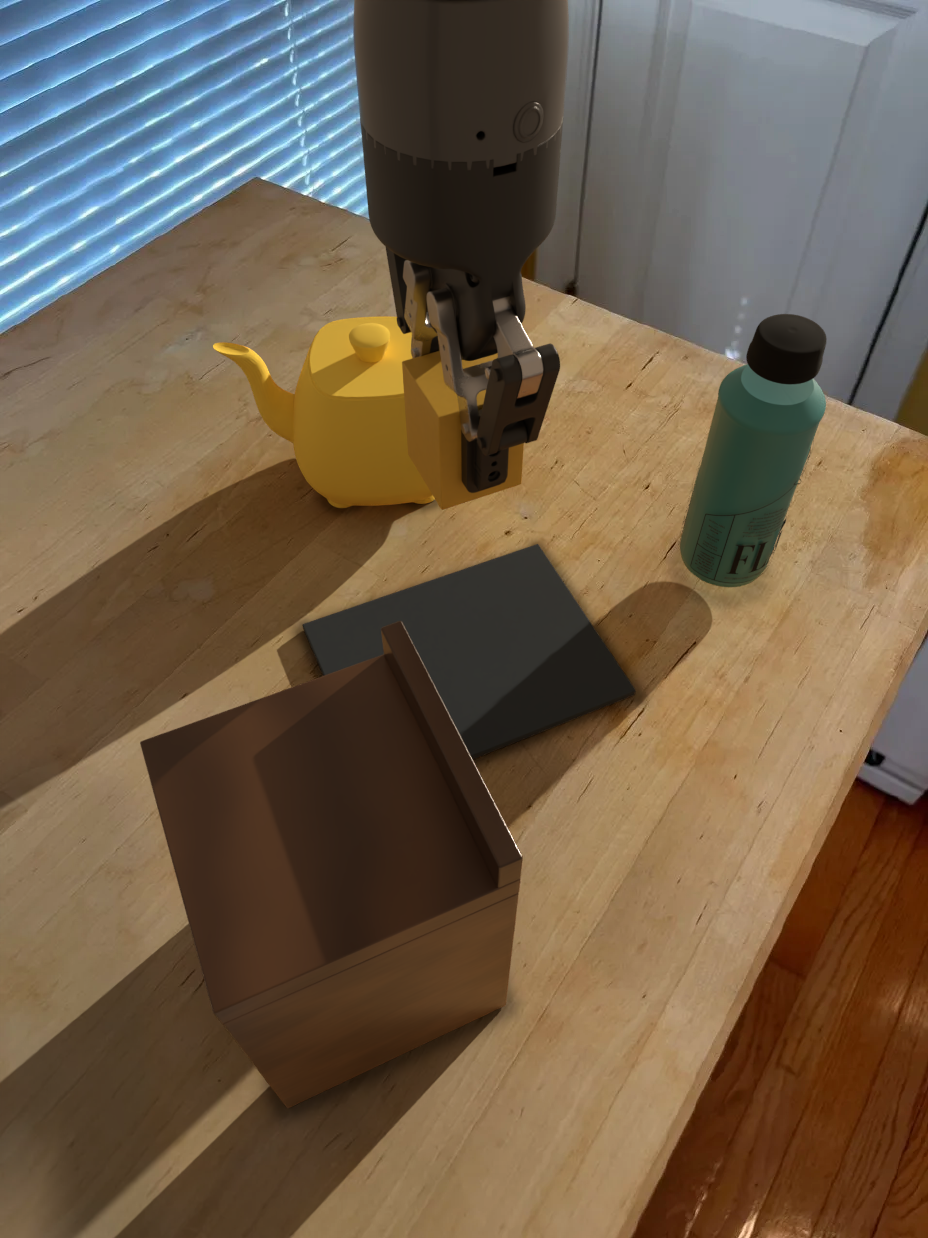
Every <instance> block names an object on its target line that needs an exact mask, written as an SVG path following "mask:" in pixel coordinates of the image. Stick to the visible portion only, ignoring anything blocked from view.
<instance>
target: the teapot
mask: <svg viewBox="0 0 928 1238" xmlns="http://www.w3.org/2000/svg"><path fill="white" fill-rule="evenodd" d="M411 339H412V333H411V332H410V333H407V334H403V333H402V331H401V330H400V328H399V327H398V324H397V316H391V315H390V316H388V315H387V316H362V317H361V316H359V317H350V318H349V317H348V318H342V319H337V320H333V321H330V322H328V323H326V324H324V326H322V327H321V328H320V329H319V330H318V331H317V332H316V334H315V335H314V337H313V339H312V341H311V344H310V346H309V348H308V350H307V353H306V356H305V359H304V362H303V364H302V368H301V370H300V373H299V377H298V379H297V383H296V386H295V389H294V390H295V391H294V393H293V392H290V391H287V390H285V389H283V388H282V387H280V386H279V385H278V384H277V383H276V382H275V381H274V379H273V377H272V375H271V373H270V371H269V369H268V366H267V365H266V363H265V361H264V359H262V357H261V356H260V355H259V354H258V353H256V351H254V350H253V349H251V348H249V347H247V346H244V345H243V344H242V345H241V344H238V343H234V342H226V341H224V342H222V341H221V342H215V343H214V344H213V345H212V347H213V349H214V351H216V353H219V354H221V355H222V356H223V357H226V358H227V359H229V360H231V361H232V362H234V363H235V364H236V365H237V366H238V367H239V368H240V369H241V371H242V373H243V374H244V375H245V376H246V379H247V382H248V383H249V386H250V389H251V392H252V395H253V398H254V402H255V405H256V407H257V410H258V413H259V414H260V417H261V419H262V421H263V422H264V423H265V424H266V426H267V427H268V428H269V429H270V430H271V431H272V432H273V433H274V434H276V435H277V436H278V437H281V438H282V439H284V440H285V441H288V442H289V443H292V444H293V445H292V447H293V451H294V457H295V459H296V464H297V465H298V467H299V470H300V472H301V474H302V476H303V477H304V479H305V481H306V483H307V484H308V485H309V486H310V487H311V488H312V489H313V490H314V491H315V492H316V493H318V494H319V495H320V496H322V497H324V498H325V499H326V500H327V502H328V503H329V504H330V505H331V506H332V507H333V508H338V509H347V508H350V507H352V506H368V507H370V506H372V507H373V506H390V505H401V504H408V503H415V504H419V505H426V504H429V503H432V502H434V500H435V498H434V496H433V495H432V493H431V491H430V490H429V488H428V487H427V485H426V483H425V482H424V480H423V478H422V477H421V475H420V473H419V472H418V470H417V468H416V467H415V465H414V463H413V462H412V460H411V458H410V457H409V455H408V444H407V430H406V415H405V400H404V386H403V371H402V361H405V360H409V359H412V358H413V357H412V355H411ZM435 501H436V500H435Z"/></svg>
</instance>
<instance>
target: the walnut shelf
mask: <svg viewBox="0 0 928 1238" xmlns="http://www.w3.org/2000/svg"><path fill="white" fill-rule="evenodd" d="M381 634H382V642H383V650H384V654H383V655H381V656H378V657H375V658H372V659H369V660H367V661H364V662H361V663H358V664H355V665H353V666H350V667H347V668H344V669H341V670H339V671H336V672H333V673H330V674H328V675H325V676H323V675H322V676H319V677H317V678H314V679H312V680H311V679H310V680H309V681H306V682H303V683H300V684H297V685H294V686H291V687H289V688H287V689H283V690H279V691H277V692H275V693H272V694H269V695H266V696H264V697H261V698H258V699H255V700H253V701H250V702H247V703H243V704H241V705H239V706H236V707H233V708H230V709H228V710H225V711H221V712H219V713H216V714H213V715H210V716H208V717H205V718H201V719H200V720H196V721H194V722H191V723H188V724H186V725H185V724H184V725H183V726H180V727H177V728H174V729H171V730H169V731H165V732H163V733H161V734H158V735H154V736H152V737H149V738H146V739H144V740H141V741H140V742H139V744H140V749H141V753H142V756H143V759H144V762H145V766H146V767H145V768H146V770H147V774H148V778H149V781H150V785H151V788H152V793H153V796H154V800H155V803H156V808H157V811H158V815H159V818H160V821H161V826H162V829H163V833H164V836H165V840H166V844H167V848H168V851H169V854H170V855H169V856H170V859H171V863H172V867H173V870H174V873H175V874H174V875H175V877H176V881H177V885H178V888H179V892H180V896H181V900H182V903H183V908H184V910H185V914H186V918H187V922H188V925H189V929H190V933H191V936H192V940H193V943H194V944H193V945H194V947H195V952H196V955H197V958H198V962H199V966H200V968H201V973H202V977H203V981H204V985H205V989H206V991H207V996H208V999H209V1003H210V1006H211V1009H212V1014H213V1015H214V1016H215V1017H216V1019H217V1020H218V1021H219V1022H220V1023H221V1024H222V1026H223V1027H224V1028H225V1030H226V1031H227V1033H228V1034H229V1035H230V1036H231V1038H232V1039H233V1040H234V1042H235V1043H236V1044H237V1045H238V1047H240V1049H241V1051H242V1052H243V1053H244V1055H245V1056H246V1057H247V1058H248V1060H249V1061H250V1062H251V1063H252V1065H253V1066H254V1068H255V1069H256V1070H257V1071H258V1072H259V1074H260V1075H261V1076H262V1078H263V1079H264V1080H265V1082H266V1083H267V1084H268V1085H269V1087H270V1088H271V1089H272V1091H273V1092H274V1093H275V1094H276V1096H277V1097H278V1098H279V1100H280V1101H281V1102H282V1104H283V1105H284V1106H285V1108H286V1109H290V1108H293V1107H294V1106H297V1105H298V1104H301V1103H303V1102H305V1101H307V1100H309V1099H311V1098H313V1097H315V1096H318V1095H320V1094H322V1093H324V1092H326V1091H328V1090H330V1089H332V1088H335V1087H337V1086H339V1085H341V1084H344V1083H345V1082H347V1081H349V1080H351V1079H354V1078H356V1077H358V1076H360V1075H362V1074H364V1073H367V1072H368V1071H370V1070H373V1069H375V1068H377V1067H379V1066H382V1065H383V1064H385V1063H388V1062H389V1061H392V1060H394V1059H396V1058H398V1057H400V1056H402V1055H404V1054H406V1053H409V1052H411V1051H413V1050H415V1049H417V1048H419V1047H422V1046H423V1045H425V1044H428V1043H430V1042H432V1041H434V1040H436V1039H438V1038H440V1037H443V1036H444V1035H446V1034H448V1033H451V1032H453V1031H455V1030H457V1029H459V1028H461V1027H464V1026H465V1025H468V1024H470V1023H472V1022H475V1021H476V1020H478V1019H480V1018H482V1017H484V1016H487V1015H489V1014H491V1013H493V1012H495V1011H497V1010H500V1009H501V1008H503V1007H505V1006H506V1005H507V999H508V992H509V991H508V989H509V980H510V971H511V964H512V956H513V955H512V954H513V948H514V947H513V946H514V939H515V929H516V922H517V921H516V920H517V911H518V904H519V903H518V902H519V892H520V888H521V878H522V877H521V876H522V868H523V861H524V860H523V854H522V852H521V850H520V849H519V846H518V844H517V843H516V841H515V838H514V837H513V835H512V833H511V831H510V829H509V827H508V825H507V823H506V822H505V819H504V817H503V815H502V813H501V811H500V810H499V807H498V806H497V803H496V802H495V800H494V798H493V796H492V794H491V792H490V790H489V788H488V786H487V783H486V782H485V780H484V778H483V776H482V774H481V772H480V771H479V769H478V767H477V765H476V763H475V760H474V759H472V757H471V755H470V753H469V751H468V749H467V747H466V745H465V743H464V741H463V739H462V737H461V735H460V733H459V731H458V730H457V728H456V726H455V724H454V722H453V720H452V718H451V716H450V714H449V712H448V710H447V708H446V706H445V704H444V702H443V700H442V698H441V696H440V694H439V693H438V691H437V689H436V687H435V685H434V683H433V681H432V679H431V677H430V675H429V673H428V671H427V669H426V667H425V665H424V663H423V661H422V659H421V657H420V656H419V654H418V652H417V650H416V648H415V646H414V644H413V642H412V640H411V638H410V636H409V634H408V632H407V630H406V628H405V626H404V624H403V622H402V621H398V622H396V623H393V624H390V625H387V626H384V627H382V628H381Z"/></svg>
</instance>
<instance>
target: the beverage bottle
mask: <svg viewBox="0 0 928 1238" xmlns="http://www.w3.org/2000/svg"><path fill="white" fill-rule="evenodd" d="M827 339H828V338H827V334H826V331H825V330H824V328H823V327H821V325H819V324H818V323H817V322H815V321H814V320H812V319H810V318H808V317H805V316H802V315H798V314H794V313H793V314H792V313H779V314H773V315H770V316H768V317H765V318H764V319H762V320H761V321H760V322H759V324H758V325H757V326H756V328H755V332H754V334H753V337H752V339H751V341H750V343H749V345H748V348H747V352H746V357H745V359H746V363H747V364H744V365H741V366H739V367H737V368H735V369H733V370H732V371H730V372H729V373H727V374H726V376H724V378H723V379H722V381H721V382H720V384H719V387H718V391H717V399H716V403H715V407H714V411H713V415H712V419H711V423H710V427H709V429H708V430H709V431H708V435H707V439H706V442H705V446H704V452H703V453H702V457H701V461H700V463H698V466H699V467H697V468H696V471H697V472H696V476H695V479H694V483H693V487H692V489H690V491H689V492H690V493H689V496H688V497H690V495H691V497H690V499H689V500H687V509H686V511H685V512H686V515H683V516H684V517H683V520H682V524H681V528H680V529H682V530H680V532H679V533H680V535H679V536H678V537H679V540H678V543H677V544H678V546H679V550H680V556H681V560H682V562H683V564H684V565H685V567H686V569H687V570H688V571H689V572H690V573H691V574H692V575H693V576H694V577H696V578H697V579H699V580H700V581H703V582H704V583H707V584H709V585H713V586H716V587H722V588H738V587H739V588H740V587H743V586H746V585H749V584H751V583H752V582H754V581H755V580H757V579H758V578H759V577H761V576H762V575H763V574H764V572H765V571H766V570H767V569H766V568H768V567H769V563H770V561H772V560H773V558H772V556H774V554H775V553H776V549H777V547H778V545H779V541H780V539H781V535H782V533H783V528H784V526H785V524H786V522H787V518H786V517H787V513H788V512H789V509H790V507H791V504H792V502H793V501H792V500H793V498H794V496H795V495H794V494H795V492H796V489H797V487H798V485H800V484H801V482H802V479H801V477H803V475H804V472H805V471H806V468H807V466H808V461H810V460H809V459H810V457H811V456H812V453H813V452H812V450H814V449H813V448H814V447H812V446H813V444H814V443H815V436H816V433H817V431H818V428H819V425H820V422H821V421H822V419H823V418H824V416H825V412H826V408H827V399H826V395H825V393H824V392H823V389H822V388H821V386H820V385H819V384H818V382H817V380H816V379H815V378H816V377H817V376H818V374H819V372H820V371H821V367H822V365H823V360H824V359H823V358H824V355H825V354H824V353H825V351H826V346H827ZM811 447H812V449H811ZM691 492H692V493H691ZM770 559H771V560H770Z"/></svg>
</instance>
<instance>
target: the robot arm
mask: <svg viewBox="0 0 928 1238" xmlns="http://www.w3.org/2000/svg"><path fill="white" fill-rule="evenodd" d="M353 1H354V2H353V19H352V20H353V21H352V23H353V26H352V27H353V31H352V35H353V36H352V39H353V52H354V53H353V54H354V65H355V76H356V78H355V79H356V87H357V99H358V100H357V101H358V109H359V110H358V112H359V120H360V121H359V122H360V133H361V144H362V157H363V167H364V176H365V190H366V203H367V212H368V220H369V223H370V228H371V229H372V231H373V233H374V235H375V236H376V238H377V240H378V241H380V243H381V244H382V245H383V246H384V247H385V252H386V253H385V254H386V259H387V264H388V265H387V266H388V270H389V271H388V272H389V278H390V284H391V289H392V290H391V291H392V296H393V302H394V307H395V314H396V317H397V324H398V327H399V328H400V330H401V331H402V333H403V334H407V333H410V332H411V333H412V339H411V355H412V357H413V358H416V357H419V356H423V355H427V354H430V353H434V352H437V351H440V356H441V363H442V369H443V376H444V382H445V384H446V386H447V387H449V388H450V389H451V390H452V391H453V392H455V393H456V394H457V399H458V406H459V413H460V420H461V469H462V483H463V484H464V486H465V487H466V489H467V490H468V492H470V493H476V492H479V491H482V490H485V489H488V488H491V487H494V486H497V485H500V484H502V483H504V482H505V481H506V479H507V476H508V456H509V448H510V447H513V446H516V445H520V444H523V443H524V444H529V443H532V442H536V441H538V439H539V435H540V432H541V429H542V426H543V423H544V420H545V416H546V414H547V410H548V408H549V404H550V401H551V398H552V395H553V392H554V389H555V386H556V383H557V380H558V376H559V374H560V370H561V359H560V355H559V352H558V350H557V348H556V347H555V345H554V344H552V343H546V344H543V345H539V346H536V347H534V344H533V343H532V341H531V339H530V338H529V336H528V334H527V332H526V331H525V329H524V326H523V322H524V321H525V318H526V312H527V311H526V298H525V293H524V287H523V286H524V285H523V275H522V268H523V267H524V265H525V264H526V262H527V261H528V259H529V258H530V257H531V256H532V254H533V253H534V252H535V251H536V250H537V249H538V248H539V247H540V246H541V245H542V244H543V243H544V242H545V240H546V239H547V238H548V236H550V233H551V232H552V230H553V227H554V224H555V222H556V217H557V216H556V215H557V207H558V206H557V205H558V192H559V179H560V165H561V155H562V154H561V153H562V152H561V151H562V140H563V127H564V116H565V103H566V90H567V89H566V88H567V78H568V77H567V75H568V64H569V63H568V62H569V45H570V19H569V17H570V16H569V14H570V13H569V0H353ZM496 353H498V357H497V358H496V359H494V360H492V361H489V362H485V363H482V364H478V365H475V366H471V367H468V368H464V369H463V367H462V360H465V361H473V360H477V359H480V358H484V357H488V356H491V355H494V354H496ZM483 390H486V394H485V398H484V403H483V408H482V409H481V410H478V407H477V395H478V393H479V392H481V391H483Z"/></svg>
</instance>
